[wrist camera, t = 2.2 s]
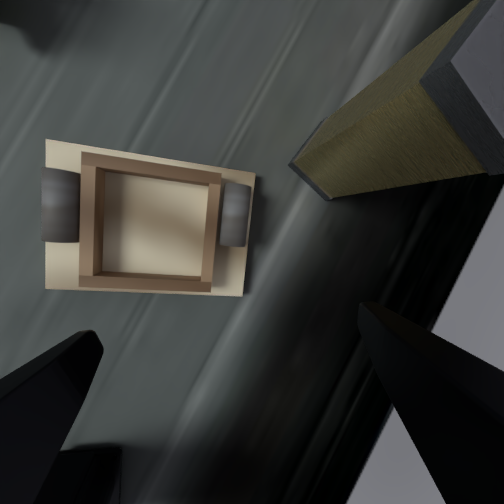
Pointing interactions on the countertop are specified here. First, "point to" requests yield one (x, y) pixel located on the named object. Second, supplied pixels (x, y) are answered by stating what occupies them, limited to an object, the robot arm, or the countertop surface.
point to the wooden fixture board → (143, 223)
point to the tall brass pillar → (419, 114)
